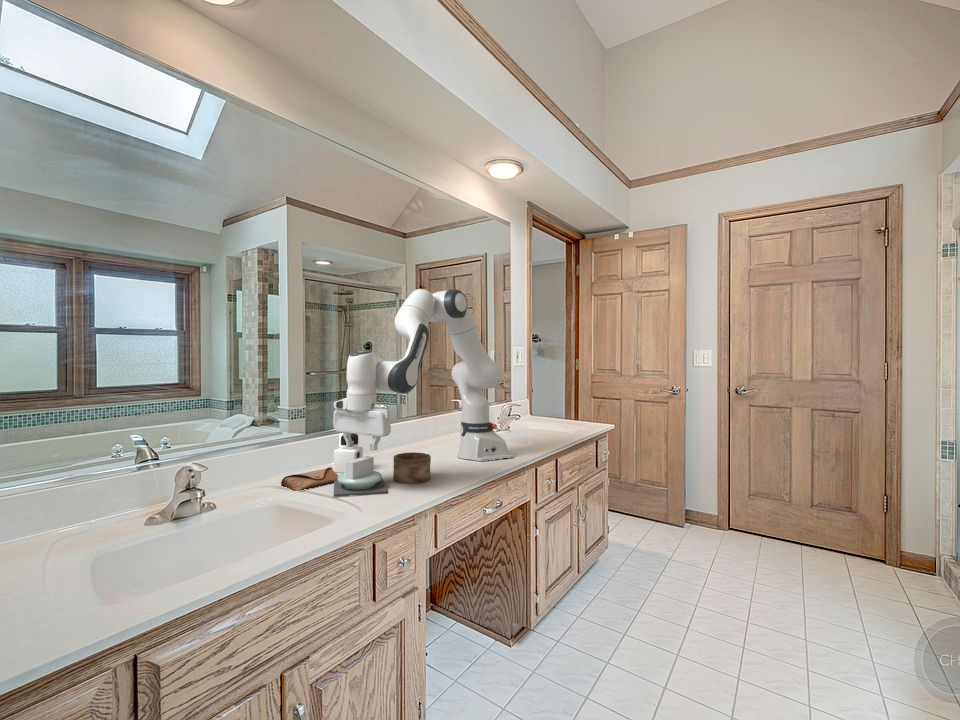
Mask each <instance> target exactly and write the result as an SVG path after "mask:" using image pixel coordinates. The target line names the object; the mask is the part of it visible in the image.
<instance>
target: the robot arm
mask: <svg viewBox="0 0 960 720" xmlns="http://www.w3.org/2000/svg"><path fill="white" fill-rule="evenodd" d="M440 322H446V323H445V324H446V328H447V331H448V334H449V335H448V336H449V337H450V342H451V344H452V346H453V351H454V352H455V354H456V355H457V356H458V357H460V358H461V359H462V361H460V362H458V363H456V364H454V366H453V367H452V369H451V378H452V380H453V382H454V383H455V385H456V386H457V388H458V392H459V395H460V399H461V414H462V415H461V421H460V422H461V423H460V435H461V436H460V444H459V450H458V453H457V457H458V458H460V459H464V460H470V461H471V460H472V461H477V462H487V461H488V460H489V461H496V460H495V459H499V460H504V459H503V458H508V459H512V458H511V457H514V455H513V453H512V452H510V451H508V445H507V442H506V441H505V439H504V438H502V437H501V436H500V435H499V434H498V433H497V432H495V431H494V430H497V428H498V425H497V424H496V423H493V422H490V403H489V401H488V399H487V398H486V397H485V395H484V393H483V390H488V389H493V388H496V387H498V386H499V385H500V384H501V383H502V381H503V377H504V374H503V369H502V368H501V366H500V365H499V364H497V363H496V362H495V361H494V360H493V359H492V358H491V357H490V355H489V354H488V353H487V351H486V349H485V348H484V345H483V343H482V342H481V339H480V338H481V337H480V335H479V333H478V329H477V327H476V323H475V320H474V318H473V315H472V313H471V310H470V309H469V308H468V299H467V297H466V294H464V293H463V291H461V290H460V289H453V288H451V289H448V290H440V291H439V290H438V291H435V292H433V293H432V292H430V291H429V290H427V289H424V288H418V289H415V290H413V291H412V292H411V293H410V294H409V296H407V298H406V299H405V300H404V302H403V303H402V305H401V306H400V308H399V310H398V312H397V313H396V315H395V318H394V327H395V329H396V331H397V333H398V334H399V335H400V336H401V337H403V338H404V340H407V341H409V343H408V346H407V348H406V351H405V354H404V357H402V358H401V359H398V360H384V359H382V358H380V357H378V356H377V355H376V354H375V351H374V350H369V349H363V350H355V351H352V352H351V353H349V356H348V358H347V364H346V383H347V390H346V397H345V398H344V397H343V398H342V399H340V400H336V401H334V402H333V407H334V409H335V410H334V412H333V416H332V417H333V418H332V421H333V422H332V423H333V424H332V425H333V429H334V431H335V432H337V433H338V432H339V433H342V434H343V436H344V438H345V440H346V446H347V447H353V446H354V441H352V439H351V436H350V435H351V433H353V434H357V435H362V436H363V435H364V436H372V443H371V444H369V450H370V451H373V452H374V451H377V450H378V444H379V442H380V440H381V439H382V438H381V437H384V438H385V437H387V436H390V434H391V433H392V428H391V427H392V426H391V419H390V409H388V407H387V406H386V405H384V404H377V391H382V392H394V393H398V394H405V395H406V394H409V393H410V392H411V391H413V390H414V388H415V387H416V386H417V385H418V381H419V376H420V375H419V374H420V368H421V365H422V361H423V359H424V356H425V352H426V349H427V347H428V342H429V339H430V331H429V329H428V327H427V326H428V325H429V324H432V323H440Z"/></svg>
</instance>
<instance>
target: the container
mask: <svg viewBox="0 0 960 720" xmlns="http://www.w3.org/2000/svg"><path fill="white" fill-rule="evenodd" d="M350 436H351V439H352V441H354V446H353V447H347V446H346V440H345V438H344V436H343V433H341V434H339V435H338V447H339V448H336V449H334V450H333V467H332V470H333V471H334V472H335V473H336V474H338V473H339V474H342V473H345V472H346V462H347V461H351V460H354V459H358V458H361V457H364V456H363V454H364V453H363V449H364V448H363V446H359V434H353V433H351V435H350Z"/></svg>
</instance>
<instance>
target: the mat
mask: <svg viewBox="0 0 960 720" xmlns="http://www.w3.org/2000/svg"><path fill="white" fill-rule="evenodd" d="M370 494H371V495H370ZM372 494H374V495H383V494H384V495H386V494H388V490H387V487H386V484H385V481H384V478H383V477H382V479H381V481H379V482H377V483H376V485H375V486H374V487H372V488H369V489H364V490H350V489H346V488H344V485H343V484H340V483H338V480H336V481H334V483H333V497H334V496H345V497H350V496H349V495H359V496H372Z"/></svg>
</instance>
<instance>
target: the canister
mask: <svg viewBox="0 0 960 720" xmlns="http://www.w3.org/2000/svg"><path fill="white" fill-rule="evenodd" d="M431 458H432V457H431V455H430V454H429V453H424V452H413V451H412V452H402V453H397V454H394V455H393V470H392V471H393V474H392V475H393V477H392V478H393V481H394V482H395V483H398V484H404V485H405V484H406V485H413V484H414V485H415V484H416V483H417V484H422V483H423V484H424V483H427V482H429V481H430V480H431V460H432V459H431Z"/></svg>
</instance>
